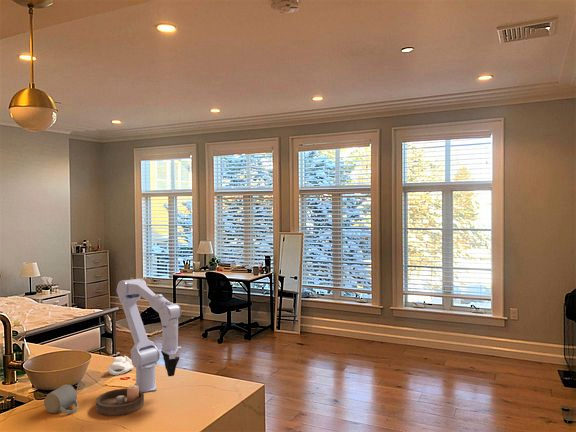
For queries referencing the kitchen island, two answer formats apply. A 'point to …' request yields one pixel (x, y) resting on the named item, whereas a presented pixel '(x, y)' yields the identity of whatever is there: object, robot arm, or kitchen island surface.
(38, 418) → the kitchen island surface
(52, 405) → the ceramic mug
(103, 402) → the groove tray
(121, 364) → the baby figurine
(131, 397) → the bead
